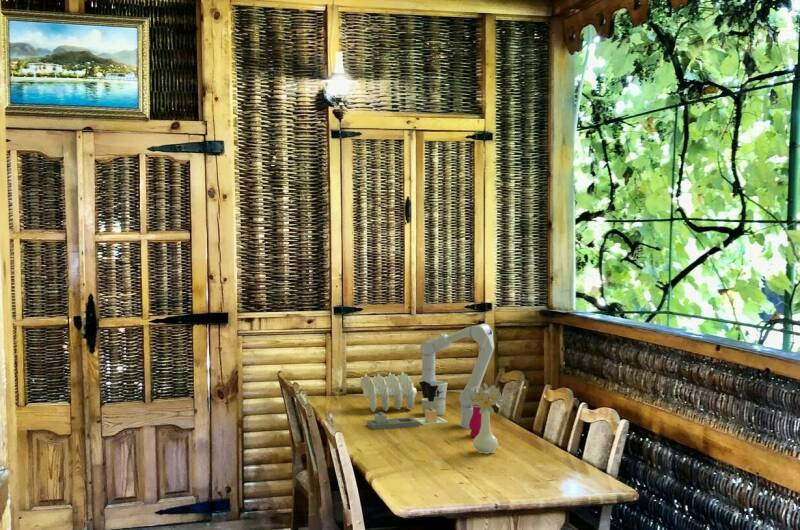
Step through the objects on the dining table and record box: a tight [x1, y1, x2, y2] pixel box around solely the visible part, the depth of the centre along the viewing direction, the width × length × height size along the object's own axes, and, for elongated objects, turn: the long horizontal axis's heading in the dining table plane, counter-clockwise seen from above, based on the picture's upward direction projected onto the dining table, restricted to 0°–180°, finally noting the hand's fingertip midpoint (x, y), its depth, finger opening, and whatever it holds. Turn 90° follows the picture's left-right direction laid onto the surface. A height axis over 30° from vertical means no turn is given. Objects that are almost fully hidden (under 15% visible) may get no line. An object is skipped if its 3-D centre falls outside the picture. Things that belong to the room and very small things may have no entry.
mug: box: [435, 380, 449, 399], centre depth 420 cm, size 10×15×10 cm
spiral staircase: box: [359, 371, 418, 413], centre depth 398 cm, size 18×18×25 cm
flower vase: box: [469, 382, 505, 455], centre depth 318 cm, size 13×18×25 cm
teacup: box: [421, 397, 446, 417], centre depth 388 cm, size 14×11×8 cm
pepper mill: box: [469, 386, 482, 438], centre depth 345 cm, size 7×7×20 cm
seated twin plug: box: [374, 411, 388, 424], centre depth 361 cm, size 4×4×6 cm
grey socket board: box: [366, 416, 420, 431], centre depth 363 cm, size 10×20×2 cm, turn 109°
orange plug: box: [424, 408, 438, 423], centre depth 371 cm, size 4×4×6 cm
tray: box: [413, 416, 449, 427], centre depth 371 cm, size 12×12×1 cm
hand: (428, 399), depth 371 cm, fingers open, 7 cm apart
